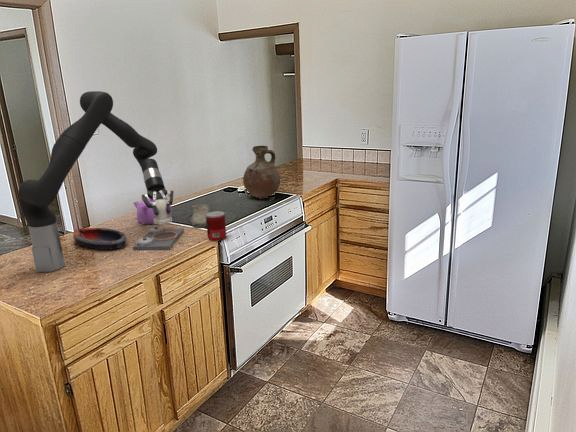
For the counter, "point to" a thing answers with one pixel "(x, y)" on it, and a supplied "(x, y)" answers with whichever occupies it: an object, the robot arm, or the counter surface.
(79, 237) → the dish
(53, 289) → the counter surface
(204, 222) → the elongated rock
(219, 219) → the canned food
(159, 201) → the cream gear
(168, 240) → the gear board
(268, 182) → the jug
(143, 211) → the teakettle
